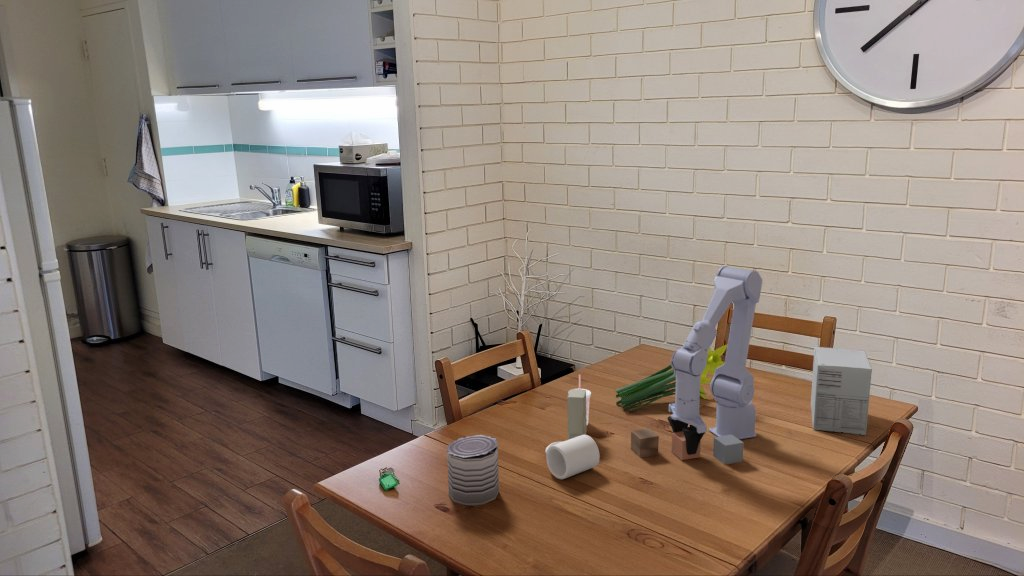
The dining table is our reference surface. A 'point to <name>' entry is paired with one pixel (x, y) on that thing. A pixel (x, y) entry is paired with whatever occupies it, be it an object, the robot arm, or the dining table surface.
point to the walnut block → (644, 442)
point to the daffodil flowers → (664, 383)
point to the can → (473, 470)
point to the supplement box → (840, 390)
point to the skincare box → (576, 413)
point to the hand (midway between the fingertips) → (685, 449)
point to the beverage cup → (586, 399)
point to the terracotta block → (682, 446)
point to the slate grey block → (728, 449)
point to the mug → (572, 456)
